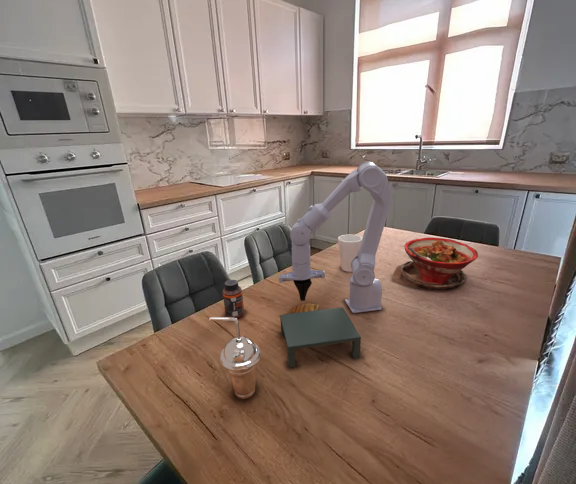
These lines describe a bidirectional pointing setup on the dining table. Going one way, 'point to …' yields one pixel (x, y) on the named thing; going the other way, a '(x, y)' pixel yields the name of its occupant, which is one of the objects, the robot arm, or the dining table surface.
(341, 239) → the foam cup
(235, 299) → the supplement bottle
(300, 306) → the pastry
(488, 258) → the dining table surface
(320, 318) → the bench
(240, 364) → the cup with straw
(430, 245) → the stew
